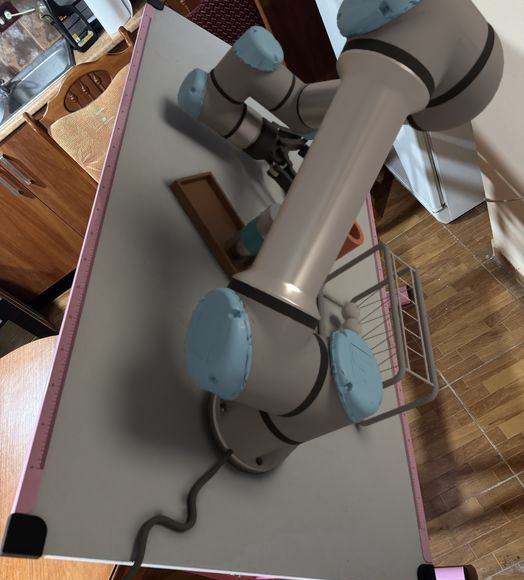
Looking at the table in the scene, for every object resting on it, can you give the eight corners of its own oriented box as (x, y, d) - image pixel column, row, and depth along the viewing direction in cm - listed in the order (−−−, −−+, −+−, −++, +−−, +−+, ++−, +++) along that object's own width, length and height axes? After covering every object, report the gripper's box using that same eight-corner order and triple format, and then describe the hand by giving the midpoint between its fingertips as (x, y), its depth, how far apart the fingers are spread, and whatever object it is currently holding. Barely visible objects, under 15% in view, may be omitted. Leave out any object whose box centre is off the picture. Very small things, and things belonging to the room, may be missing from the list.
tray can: (236, 273, 98) (284, 238, 90) (217, 244, 97) (264, 206, 90) (255, 264, 102) (301, 230, 95) (236, 236, 102) (282, 199, 94)
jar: (314, 275, 116) (355, 248, 109) (296, 246, 115) (336, 217, 108) (328, 266, 121) (368, 240, 114) (310, 238, 121) (350, 210, 114)
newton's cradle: (359, 430, 105) (442, 398, 94) (321, 412, 99) (404, 377, 88) (349, 302, 121) (418, 263, 110) (315, 281, 115) (385, 237, 104)
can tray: (255, 320, 97) (263, 315, 96) (169, 185, 95) (175, 179, 94) (284, 301, 105) (291, 296, 103) (204, 177, 103) (210, 171, 102)
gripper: (238, 104, 116) (308, 157, 129) (239, 190, 104) (317, 240, 117) (262, 79, 112) (333, 137, 124) (266, 166, 99) (344, 221, 112)
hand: (325, 187), depth 120 cm, fingers open, 13 cm apart
